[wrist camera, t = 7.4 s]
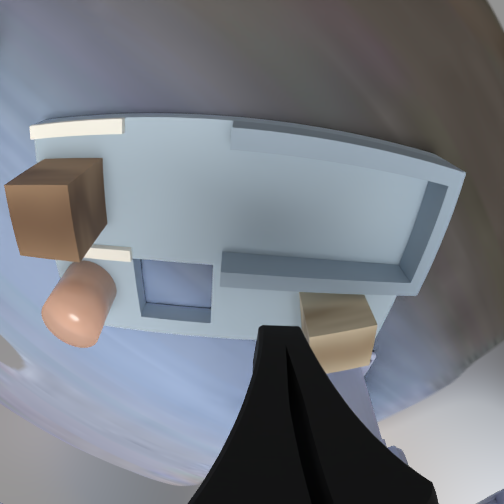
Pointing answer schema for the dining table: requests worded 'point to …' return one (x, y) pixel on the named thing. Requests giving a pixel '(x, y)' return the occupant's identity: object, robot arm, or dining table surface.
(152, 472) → the dining table surface
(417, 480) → the robot arm
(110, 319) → the slate board with cubby
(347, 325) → the beech block
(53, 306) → the peach rounded cylinder
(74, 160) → the walnut block
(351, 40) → the dining table surface
